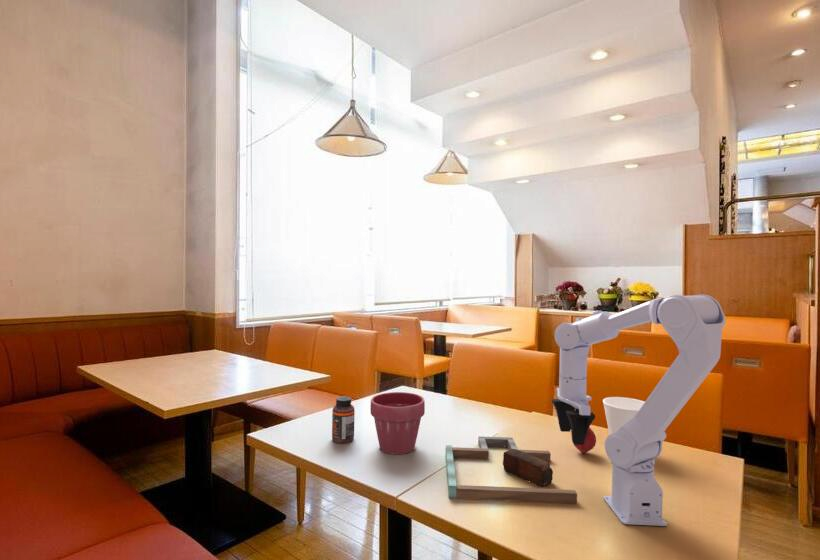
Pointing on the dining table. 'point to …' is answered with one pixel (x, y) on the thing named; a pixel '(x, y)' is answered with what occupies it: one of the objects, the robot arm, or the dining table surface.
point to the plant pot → (397, 420)
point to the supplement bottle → (343, 420)
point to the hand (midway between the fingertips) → (571, 437)
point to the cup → (620, 411)
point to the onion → (587, 442)
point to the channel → (500, 492)
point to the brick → (527, 467)
